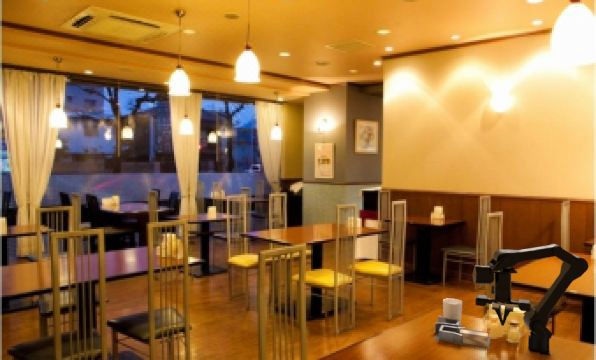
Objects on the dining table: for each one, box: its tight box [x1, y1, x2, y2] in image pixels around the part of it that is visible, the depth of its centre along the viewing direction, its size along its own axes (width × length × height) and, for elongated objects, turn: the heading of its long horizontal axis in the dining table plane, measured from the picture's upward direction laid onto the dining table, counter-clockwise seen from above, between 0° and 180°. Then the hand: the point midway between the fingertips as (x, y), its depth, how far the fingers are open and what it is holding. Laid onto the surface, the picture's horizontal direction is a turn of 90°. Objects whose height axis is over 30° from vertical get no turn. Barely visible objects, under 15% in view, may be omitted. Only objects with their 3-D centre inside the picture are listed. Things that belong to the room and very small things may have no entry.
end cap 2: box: [438, 325, 466, 347], centre depth 180 cm, size 9×10×4 cm
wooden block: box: [460, 329, 488, 347], centre depth 176 cm, size 10×4×4 cm, turn 64°
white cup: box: [442, 298, 463, 325], centre depth 198 cm, size 8×8×10 cm
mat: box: [433, 328, 492, 349], centre depth 183 cm, size 20×17×1 cm
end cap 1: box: [434, 315, 461, 334], centre depth 189 cm, size 9×10×4 cm
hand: (502, 325), depth 171 cm, fingers closed
